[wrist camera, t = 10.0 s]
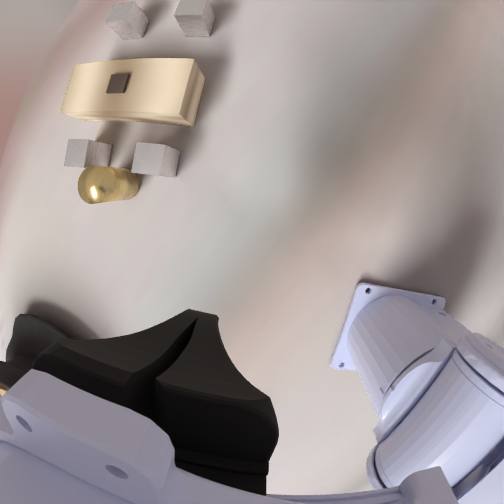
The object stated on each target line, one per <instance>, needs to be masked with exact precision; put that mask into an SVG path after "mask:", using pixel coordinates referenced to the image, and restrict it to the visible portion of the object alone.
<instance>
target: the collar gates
mask: <svg viewBox="0 0 504 504" xmlns="http://www.w3.org/2000/svg"><path fill="white" fill-rule="evenodd" d="M174 16H175V18H176V20H177V21H178V23H179V25H180V27H181V29H182V30H183V32H184V34H185V36H198V37H210V33H211V30H212V27H213V24H214V21H215V17H214V14H213V10H212V7H211V4H210V1H209V0H180V2H179V5H178V7H177V10H176V12H175V14H174ZM148 22H149V19H148V18H147V17H146V15H145V14H144V13H143V11H142V10H141V9H140V7H139V6H138V5H137V4H136V2H135V1H133V2H127V3H121V4H115V5H114V6H113V8H112V10H111V12H110V14H109V16H108V18H107V20H106V22H105V23H106V24H107V25H108V26H109V27H110V28H111V29H112V30H114V31H115V32H116V33H117V34H118V35H119V36H120V37H121V38H122V39H133V38H143V35H144V32H145V30H146V27H147V25H148ZM111 148H112V145H110V144H106V143H102V142H97V141H93V140H87V139H69V140H68V146H67V151H66V157H65V163H64V166H71V167H83V168H87V167H89V166H104V167H108V165H109V159H110V154H111ZM179 155H180V151H178V150H176V149H174V148H171V147H169V146H167V145H163V144H153V143H141V142H137V143H136V148H135V153H134V159H133V164H132V170H131V173H140V174H148V175H155V176H164V177H174V178H175V177H176V171H177V166H178V161H179Z"/></svg>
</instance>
